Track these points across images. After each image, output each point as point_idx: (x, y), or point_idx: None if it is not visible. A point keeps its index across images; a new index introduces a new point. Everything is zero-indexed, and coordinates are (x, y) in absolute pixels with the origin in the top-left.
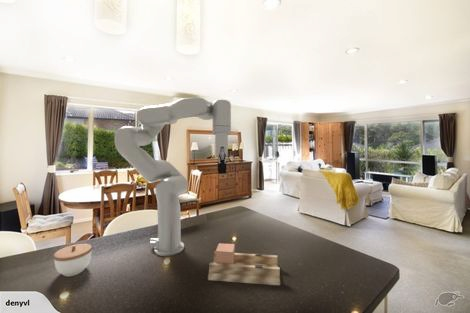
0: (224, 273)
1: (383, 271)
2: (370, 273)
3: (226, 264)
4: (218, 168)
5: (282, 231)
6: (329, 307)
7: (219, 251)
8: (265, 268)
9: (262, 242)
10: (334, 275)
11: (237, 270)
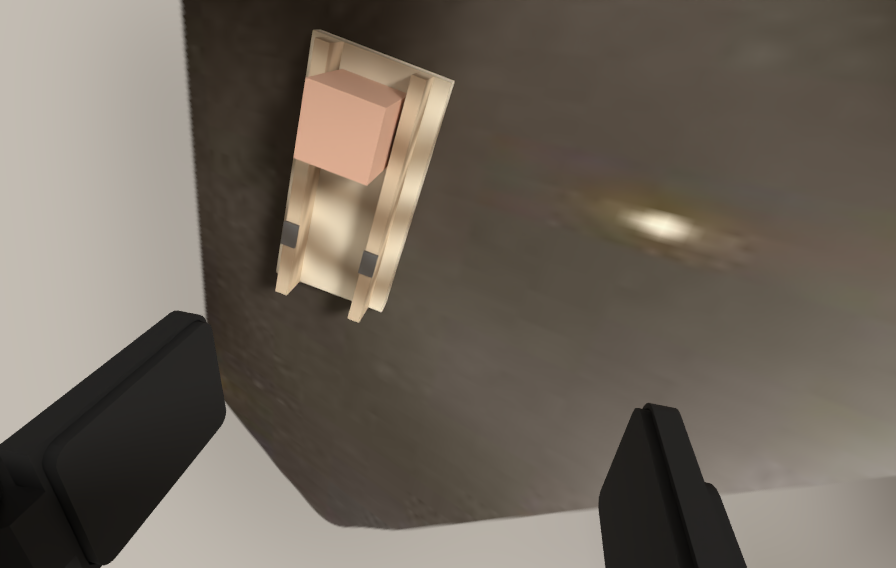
0: None
1: (327, 505)
2: (321, 479)
3: None
4: (105, 367)
5: None
6: None
7: (304, 96)
8: (282, 251)
9: (565, 331)
10: (319, 411)
11: None
